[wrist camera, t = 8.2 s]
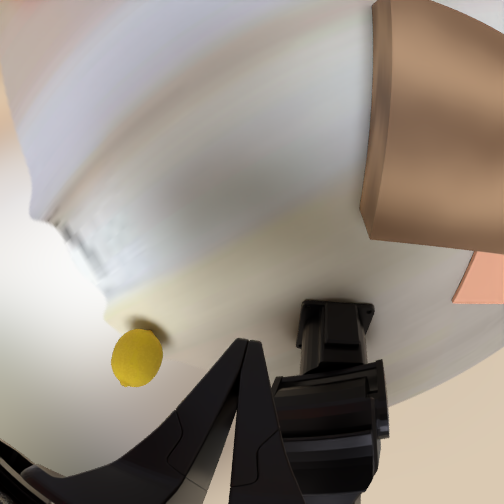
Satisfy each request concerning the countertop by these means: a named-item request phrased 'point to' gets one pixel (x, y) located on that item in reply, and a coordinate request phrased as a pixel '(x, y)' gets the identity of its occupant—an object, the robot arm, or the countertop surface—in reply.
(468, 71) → the board
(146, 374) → the lemon
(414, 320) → the countertop surface
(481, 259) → the mat
